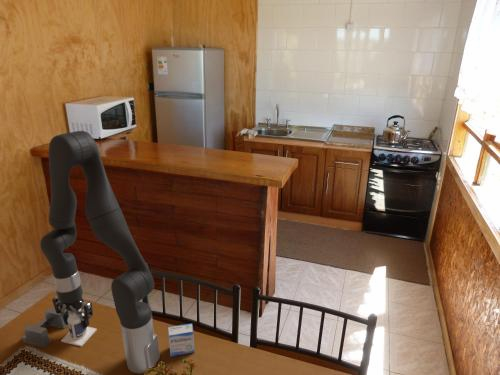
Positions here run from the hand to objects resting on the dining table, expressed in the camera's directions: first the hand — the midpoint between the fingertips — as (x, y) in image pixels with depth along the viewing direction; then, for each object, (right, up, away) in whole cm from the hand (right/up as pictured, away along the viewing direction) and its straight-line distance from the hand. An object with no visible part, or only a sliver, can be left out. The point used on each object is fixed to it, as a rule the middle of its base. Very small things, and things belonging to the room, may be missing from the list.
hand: (76, 324), depth 128 cm
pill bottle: (0, -4, +2) cm, 4 cm away
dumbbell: (-12, -3, +4) cm, 13 cm away
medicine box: (+37, -7, -4) cm, 38 cm away
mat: (0, -4, +2) cm, 5 cm away
